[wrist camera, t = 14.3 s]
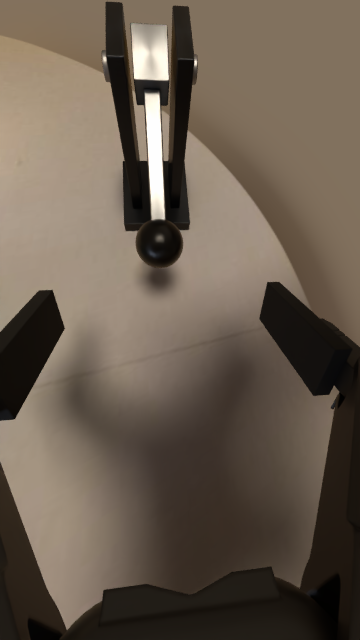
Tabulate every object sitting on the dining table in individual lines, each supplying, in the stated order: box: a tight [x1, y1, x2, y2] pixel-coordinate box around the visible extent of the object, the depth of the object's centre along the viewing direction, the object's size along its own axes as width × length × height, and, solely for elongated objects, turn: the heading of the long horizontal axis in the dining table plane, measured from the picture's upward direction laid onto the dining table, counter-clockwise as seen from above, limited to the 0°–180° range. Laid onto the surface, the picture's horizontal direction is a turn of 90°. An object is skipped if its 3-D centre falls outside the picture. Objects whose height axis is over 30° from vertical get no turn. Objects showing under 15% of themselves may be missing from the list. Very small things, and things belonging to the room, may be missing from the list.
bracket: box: [102, 2, 198, 231], centre depth 20 cm, size 8×7×14 cm
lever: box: [130, 23, 183, 268], centre depth 17 cm, size 14×4×4 cm, turn 4°
